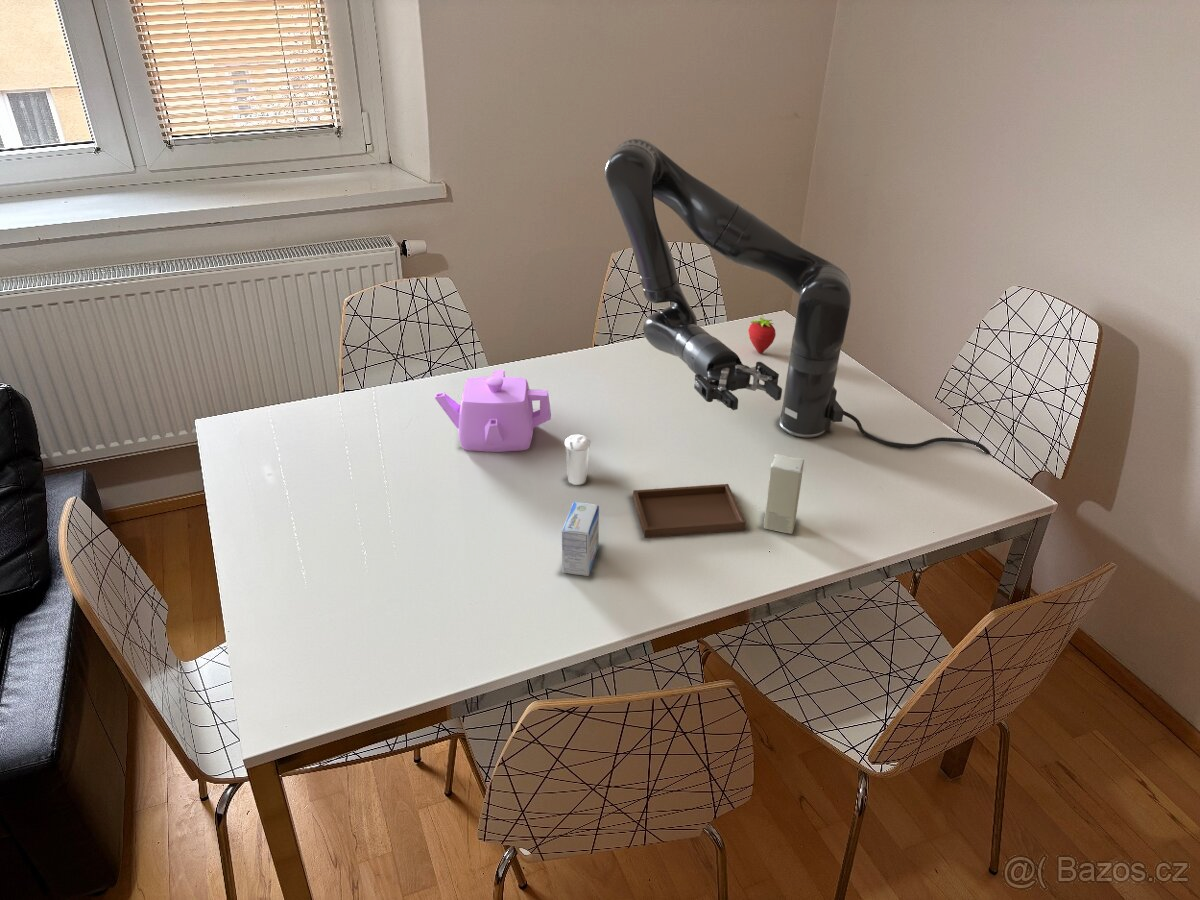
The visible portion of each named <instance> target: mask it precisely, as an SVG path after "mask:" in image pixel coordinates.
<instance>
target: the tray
mask: <svg viewBox="0 0 1200 900" xmlns="http://www.w3.org/2000/svg"><path fill="white" fill-rule="evenodd" d="M632 502H633V505H634V508H635V511H636V515H637V518H638V522H639V525H640V528H641V531H642V534H643V538H644V539H647V538H661V537H672V536H673V537H674V536H686V535H687V536H688V535H700V534H713V533H725V532H740V531H745V530H746V523H747V522H746V520H745V517H744V515H743V513H742V510H741V509H740V506H739V505H738V503H737V500H736V498H735V495H734V493H733V491H732V489H731V487H730V485H729V484H728V483H719V484H707V485H706V484H705V485H692V486H678V487H663V488H649V489H647V488H646V489H636V490H635V489H634V490H632Z"/></svg>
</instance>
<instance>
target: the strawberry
mask: <svg viewBox="0 0 1200 900" xmlns="http://www.w3.org/2000/svg"><path fill="white" fill-rule="evenodd" d="M760 315H761V317H759V320H754V319H753V320H751V321H750V324H749V328H748V336H749V341H750V342H751V344H752V346H753V348H754V349H755V350H756V352H757V354H759V355H760V354H763V353H764V352H765V351H766V350H768V349H769V347H771V345H772V344H773V343H774V341H775V338H776V336H777V333H776V329H775V327H774V326H773V325H774V323H773V322H772V321H773V319H765V318H764V315H763V314H762V313H760Z"/></svg>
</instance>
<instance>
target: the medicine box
mask: <svg viewBox="0 0 1200 900" xmlns="http://www.w3.org/2000/svg"><path fill="white" fill-rule="evenodd" d="M560 537H561V538H560V539H561V571H562V573H563V574H564V573H565V574H569V575H570V574H571V575H578V576H585V577H589V576H590V575H591V574H590V573H591V570H592V567H593V564H594V561H595V558H596V555H597V552H598V549H599V545H600V543H599V542H600V540H599V539H600V505H598V504H595V503H587V502H580V501H579V502H578V501H573V502H572V504H571V507H570V511H569V513H568V515H567V517H566V519H565V522H564V525H563V527H562V530H561V535H560Z"/></svg>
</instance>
